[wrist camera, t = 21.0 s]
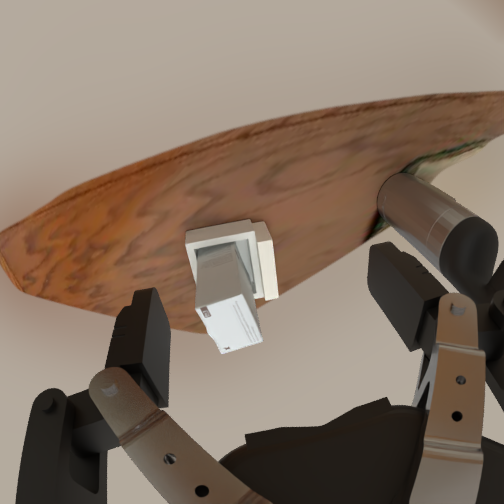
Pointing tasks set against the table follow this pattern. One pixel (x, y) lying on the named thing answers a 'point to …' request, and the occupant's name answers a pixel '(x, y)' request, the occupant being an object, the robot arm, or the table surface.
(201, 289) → the skincare box
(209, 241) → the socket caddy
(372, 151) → the table surface
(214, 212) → the table surface
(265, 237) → the wall
